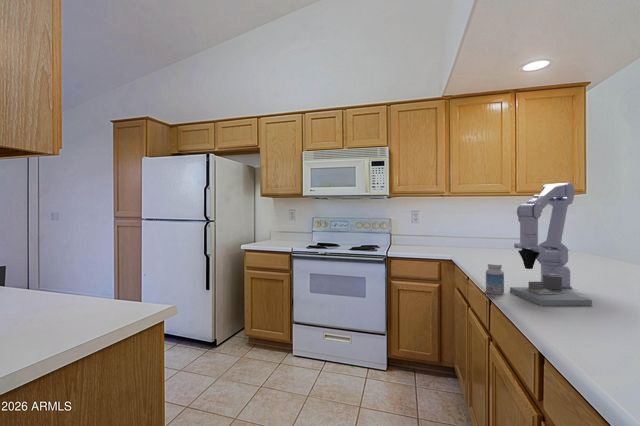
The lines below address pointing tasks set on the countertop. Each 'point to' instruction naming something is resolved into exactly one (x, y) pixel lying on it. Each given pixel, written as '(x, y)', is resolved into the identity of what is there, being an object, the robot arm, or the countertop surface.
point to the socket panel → (551, 298)
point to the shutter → (539, 288)
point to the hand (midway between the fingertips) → (528, 268)
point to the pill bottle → (494, 279)
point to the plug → (552, 282)
